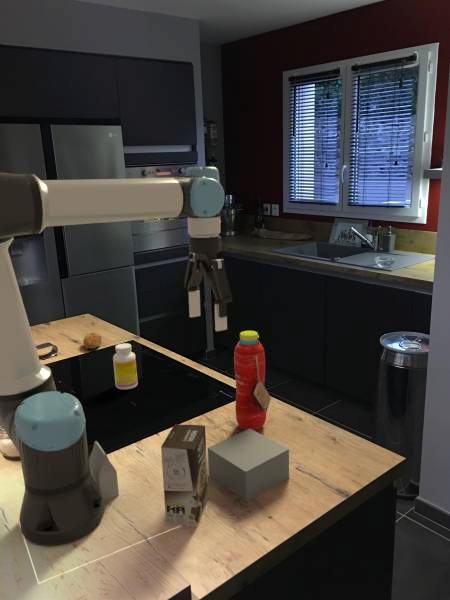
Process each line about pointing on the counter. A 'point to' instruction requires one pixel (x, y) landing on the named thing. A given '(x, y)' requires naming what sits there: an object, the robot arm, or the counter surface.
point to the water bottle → (250, 382)
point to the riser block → (248, 463)
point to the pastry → (92, 340)
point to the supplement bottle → (125, 367)
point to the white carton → (103, 473)
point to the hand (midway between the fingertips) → (207, 323)
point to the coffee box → (185, 474)
